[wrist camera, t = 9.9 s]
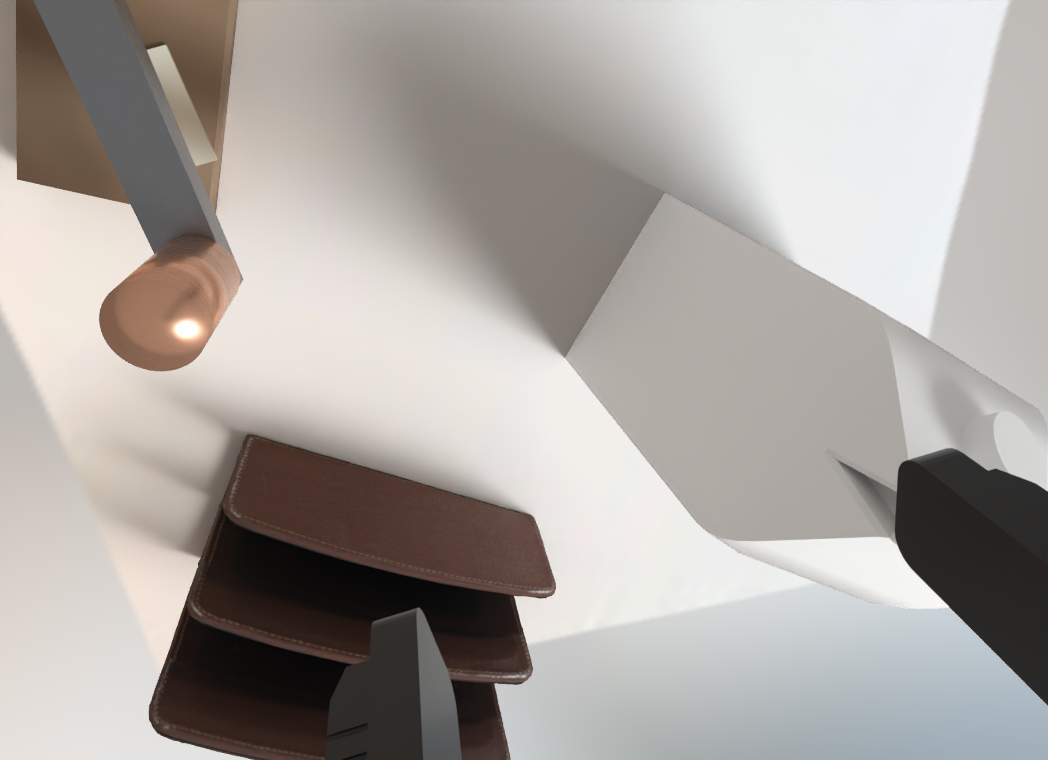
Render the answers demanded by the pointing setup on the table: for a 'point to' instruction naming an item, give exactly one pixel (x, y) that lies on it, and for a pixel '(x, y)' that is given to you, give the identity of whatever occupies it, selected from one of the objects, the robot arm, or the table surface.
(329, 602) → the letter holder
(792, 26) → the table surface
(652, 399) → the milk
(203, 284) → the lever
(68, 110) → the press bench
